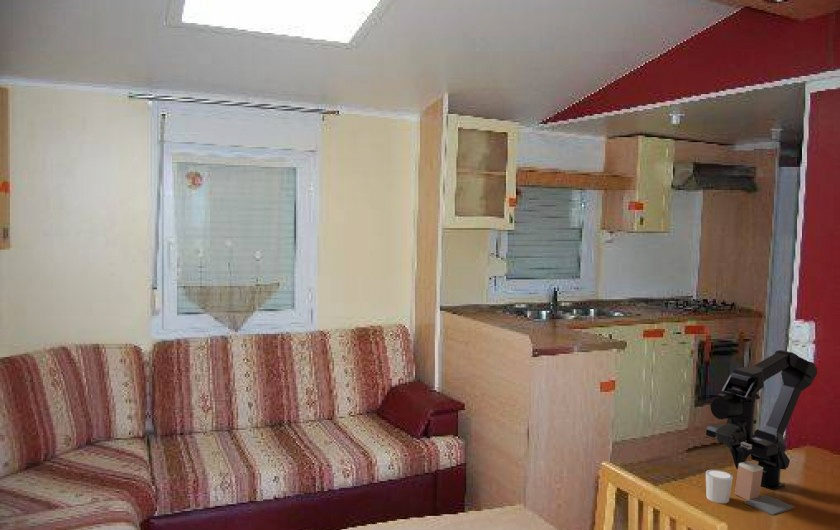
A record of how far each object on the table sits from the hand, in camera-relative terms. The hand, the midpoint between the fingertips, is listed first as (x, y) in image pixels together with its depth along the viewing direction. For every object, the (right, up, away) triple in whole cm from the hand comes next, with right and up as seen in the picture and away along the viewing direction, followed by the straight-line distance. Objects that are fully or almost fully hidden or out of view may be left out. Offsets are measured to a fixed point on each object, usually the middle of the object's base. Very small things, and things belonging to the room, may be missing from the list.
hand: (738, 468), depth 180 cm
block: (+1, -7, -2) cm, 7 cm away
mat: (+4, -7, -8) cm, 12 cm away
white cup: (-8, -7, -5) cm, 12 cm away
